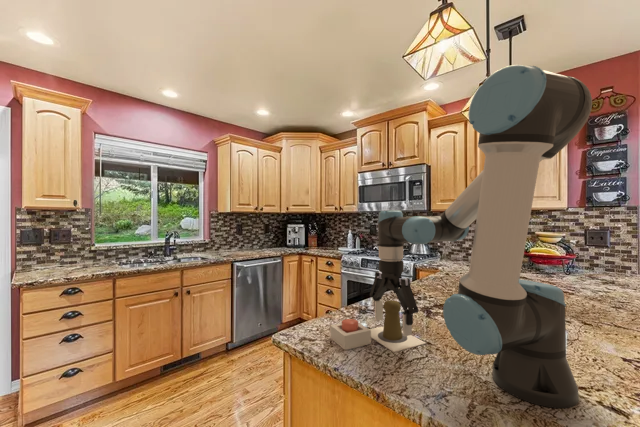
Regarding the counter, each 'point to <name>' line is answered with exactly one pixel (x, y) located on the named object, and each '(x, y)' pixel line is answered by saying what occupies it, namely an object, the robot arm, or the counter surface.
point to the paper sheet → (395, 344)
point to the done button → (349, 325)
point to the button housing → (350, 336)
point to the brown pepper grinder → (392, 321)
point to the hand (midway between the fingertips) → (392, 327)
